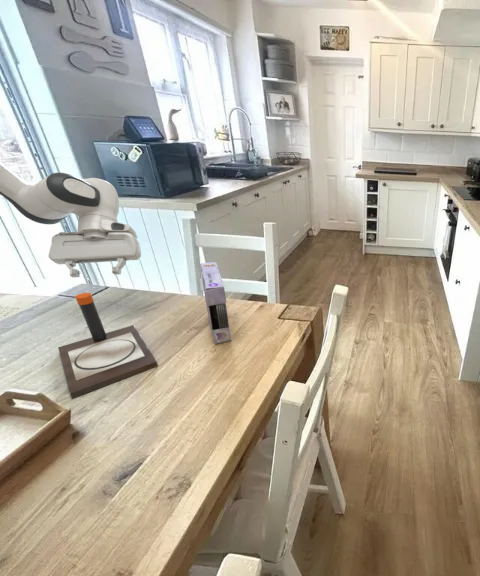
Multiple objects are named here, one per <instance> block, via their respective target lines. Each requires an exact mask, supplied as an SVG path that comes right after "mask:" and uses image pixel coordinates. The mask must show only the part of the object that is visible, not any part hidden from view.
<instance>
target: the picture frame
mask: <svg viewBox="0 0 480 576" xmlns="http://www.w3.org/2000/svg"><path fill="white" fill-rule="evenodd" d="M105 333H106V336H107V337H106V338H105V339H103V340H101V341H94V340H93V338H92V336H91V337H87V338H85V339H82V340H78V341H74V342H71V343H68V344H64V345H61V346H58V347H57V349H58V353H59V357H60V361H61V365H62V369H63V372H64V377H65V381H66V384H67V387H68V392H69V395H70V398H71V399H76V398H79V397H81V396H83V395H86V394H89V393H91V392H94V391H97V390H99V389H102V388H104V387H106V386H107V387H108V386H109V385H112V384H115V383H118V382H120V381H123V380H125V379H128V378H130V377H133V376H136V375H139V374H141V373H143V372H146V371H149V370H151V369H154V368H157V367H159V365H158V361H157V359H156V358H155V357H154V355H153V353H152V352H151V350H150V348H149V347H148V345H147V344H146V341H144V338H142V336H141V334H140V332H139V330H138V329H137V328H136V326H135V325H134V324H132V325H129V326H126V327H122V328H119V329H115V330H112V331H108V332H105Z"/></svg>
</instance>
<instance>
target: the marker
mask: <svg viewBox="0 0 480 576" xmlns="http://www.w3.org/2000/svg"><path fill="white" fill-rule="evenodd" d="M74 298H75V300H76V302H77V305H78V306H79V309H80V311H81V313H82V316H83V318H84V320H85V323H86V326H87V328H88V330H89V333H90V335H91V337H92V338H93V340H94V341H101V340H103V339H105V338H106V337H107V336H106V333H107V332H106V330H105V328H104V325H103V323H102V320H101V318H100V315H99V313H98V310H97V307H96V304H95V301H94V298H93V295H92V293H91V292H81V293H79V294H77V295H75V297H74Z"/></svg>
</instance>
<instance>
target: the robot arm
mask: <svg viewBox="0 0 480 576" xmlns="http://www.w3.org/2000/svg"><path fill="white" fill-rule="evenodd" d="M0 196H2V197H3V198H4V199H6V200H7V201H8V202H9V203H10V204H11V205H12V206H13V207H14V208H15V209H16V210H17V211H18V212H19V213H20V214H21V215H23V217H25V218H27V219H28V220H30V221H33V222H35V223H38V224H42V225H55V224H58V223H61V222H62V221H63V220H64V219H66V218H67V217H68V216H69V215H71V214H73V215H76V216H77V218H78V219H77V231H69V232H66V231H62V232H58V233H57V234H54V235H53V236H52V237H51V245H50V247H49V251H48V258H49V260H51V261H52V262H53V263H54V264H56V265H65V266H66V267H67V268H68V270H69V276H70V278H80V277H81V271H80V270H79V269H77V268H75V267H77V264H90V263H108V262H110V263H111V262H118V263H117V264H116V265H115V266H112V268H111V273H112V274H113V275H114V276H115V275H116V276H117V275H122V269H123V268H124V267H125V266H126V264H127V261H138V260H139V259H140V258H141V257H142V249H141V244H140V241H138V234H137V233H136V231H135V230H134V228H132V226H130V225H129V224H127V223H123V222H119V221H118V215H119V212H120V201H119V200H120V199H119V195H118V191H117V189H116V188H115V186H114V185H113V184H112V183H110V182H109V181H107V180H105V179H102V178H97V177H87V178H83V177H77V176H74V175H72V174H70V173H65V172H53V173H50V174H49V175H47V176H45V177H44V178H43V179H41V180H39V181H38V182H37V183H35V184H34V185H33V184H29V183H27V182H26V181H24V180H23V179H22V178H21V177H19V176H18V175H17V174H15V173H14V172H12V171H11V170H10V169H9V168H7V167H6V166H5V165H4V164H2V163H1V162H0Z"/></svg>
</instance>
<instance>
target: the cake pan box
mask: <svg viewBox="0 0 480 576" xmlns="http://www.w3.org/2000/svg"><path fill="white" fill-rule="evenodd" d="M199 266H200V274H201V275H200V276H201V280H202V286H203V287H202V288H203V294H204V300H205V306H206V311H207V319H208V322H209V327H210V331H211V335H212V339H213V343H214V345H219V344H223V343H227V342H232V334H231V329H230V324H229V316H228V310H227V308H228V307H227V297H226V291H225V286H224V282H223V279H222V276H221V273H220V270H219V266H218V263H217V262H216V261H215V262H213V261H212V262H211V261H210V262H202V263H200V264H199Z"/></svg>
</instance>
